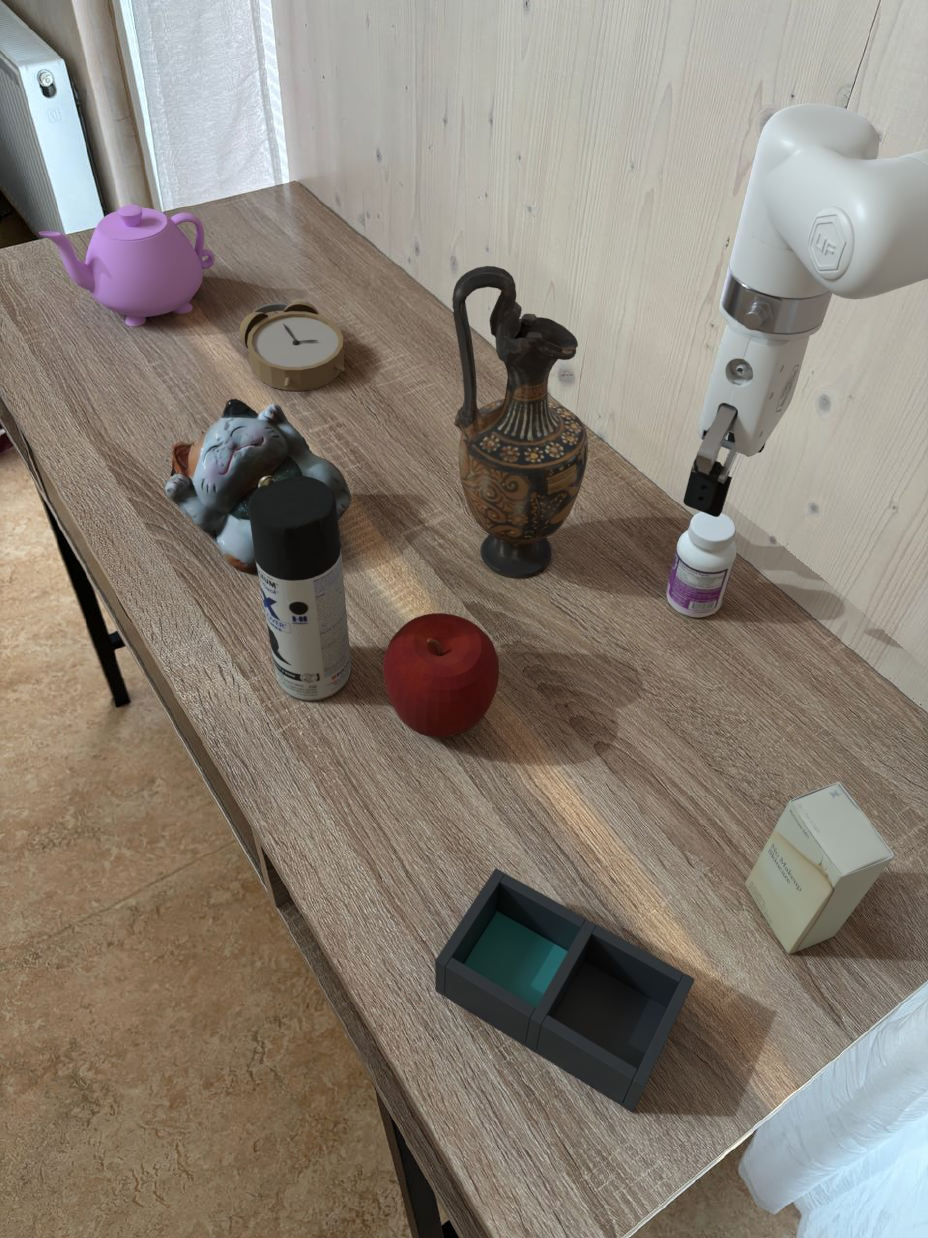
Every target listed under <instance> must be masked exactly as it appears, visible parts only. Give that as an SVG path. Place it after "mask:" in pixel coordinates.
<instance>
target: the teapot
mask: <svg viewBox="0 0 928 1238" xmlns="http://www.w3.org/2000/svg"><path fill="white" fill-rule="evenodd" d="M183 223H193V224H194V227H195V244H194V246H193V243H191V241H190V240H189V238H188V237H187V236H186V235H185V233H184V232H183V231H182V230H181V228H180V227H178V225H180V224H183ZM38 234H39V235H40V236H42V237H44V238H46V239H49V240H50V241H51V242H53V243H54V244H55V246H56V247H57V249H58V250H59V253H60V256H61V260H62V262H63V265H64V268H65V270H66V272H67V274H68V276H69V278H71V280H72V282H74V284H75V285H77V286H78V287H80V288H81V289H83V290H86V291H89V293H90V294H91V296H92V297H93V298H94V300H96V301H97V302H98V303H99V304H101V305H102V306H103V307H105V308H107V309H108V310H111V311H112V312H114V313H116V314H119V315H122V316H125V324H126V325H127V326H129V327H139V326H141V325H144V324H145V323H146V322H147V317H154V316H156V317H157V316H161V315H164V314H165V315H166V314H167V313H170V312H173V313H175V314H178V315H183V314H188V313H190V312H191V311H193V305H192V304H191V303H190V301H191V300H192V298H193V297H195V295H196V293H197V292H198V290H199V288H200V287H201V286H202V284H203V283H202V282H203V279H204V278H203V277H204V271H203V270H208V269H211V267H213V265H214V264H215V260H216V259H215V255H214V253H213V252H212V251H211V250H210V249H208V248H207V249H206V248H205V249H204V244H205V228H204V224H203V223H202V221H201V219H200V218H199V217H197V215H194V214H192V213H189V212H179V213H176V214H174V215H172V216H171V217H168V215H166V214H165V213H163V212H162V211H159V210H157V209H153V208H150V207H141V206H140V205H137V204H126V205H123V206H120V207H119V208H118V210H116V211H113V212H110V213H108V214H107V215H105V216H104V217H102V218H101V219H100V220H99V222H98V223H97V225H96V227H95V229H94V231H93V233H92V236H91V238H90V241H89V244H88V248H87V251H86V257H85V262H83V261H80V260H79V259H78V257H77V256H76V253H75V250H74V248H73V245H72V243H71V242H70V240H69V239H68V237H67V236H66V235H64V234H63V233H61V232H58V231H53V230H51V231H50V230H43V231H39V232H38ZM206 256H207V258H206V259H204V260H203V257H206Z"/></svg>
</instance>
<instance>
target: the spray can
mask: <svg viewBox="0 0 928 1238" xmlns="http://www.w3.org/2000/svg"><path fill="white" fill-rule="evenodd" d="M248 511H249V518H250V525H251V532H252V539H253V546H254V553H255V559H256V565H257V570H258V574H257V575H258V582H259V586H260V591H261V597H262V604H263V609H264V615H265V621H266V627H267V633H268V639H269V644H270V649H271V656H272V662H273V668H274V672H275V676H276V679H277V682H278V684H279V686H280V687H281V689H282V691H283V692H285V693H286V694H287V695H289V696H290V697H292V698H293V699H298V700H300V701H304V702H317V701H322V700H327V699H328V698H331V697H333V696H335V695H336V694H338V693H339V692H340V691H341V690H343V688H344V687H345V686H346V684H347V683H348V680H349V679H350V674H351V670H352V662H351V661H352V660H351V649H350V638H349V626H348V614H347V602H346V591H345V581H344V567H343V556H342V543H341V533H340V527H339V520H338V515H337V506H336V499H335V495H334V493H333V491H332V490H331V489H330V488H329V487H328V486H327V485H326V484H325V483H324V482H322V481H320V480H317V479H315V478H312V477H307V476H304V475H302V476H299V477H297V478H286V479H281V480H278V481H275V482H272V483H270V484H269V485H262V486H260V487H259V488H258V489H257V490H256V491H254V493H253V495H252V497H251V498H250V501H249V504H248Z"/></svg>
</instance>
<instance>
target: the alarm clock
mask: <svg viewBox="0 0 928 1238" xmlns="http://www.w3.org/2000/svg"><path fill="white" fill-rule="evenodd" d="M271 312H272V313H273V312H277V313H275V314H272V315H268V314H267V313H271ZM238 334H239V340H240V342H241V344H242V345H243V347H244V348H245V349H247V350H248V357H249V358H248V359H249V366H250V369H251V371H252V374H253V375H254V377H256V378H257V379H258V380H259V381H260V382H261V383H263V384H265V385H267V386H269V387H271V388H273V389H279V390H282V391H286V392H287V391H288V392H303V391H310V390H315V389H319V388H321V387H323V386H325V385H328V384H330V383H331V382H332V381H334V380H335V379H336V378H337V377H339V375H340V374H341V372H345V371H346V368H345V367H344V365H345V354H344V335H343V333H342V330H341V328H340V327H339V326H338V325H337V324H336V323H335V322H334V321H333V320H331V319H329V318H327V317H325V316H323V315H321V314H320V313H319V311H318V309H317V308H316V307H315V306H314V305H313V304H311V303H309V302H308V301H303V300H297V301H294V302H290V303H289V304H288V303H284V302H283V303H282V302H276V303H268V304H267V303H266V304H264V305H262V306H259V307H257V308H255V309H253V311H252V312H251V313H249V314H247V316H245V317H244V318H243V320H242V321H241V323H240V326H239V333H238Z"/></svg>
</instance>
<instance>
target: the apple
mask: <svg viewBox="0 0 928 1238" xmlns="http://www.w3.org/2000/svg"><path fill="white" fill-rule="evenodd" d="M493 642H494V641H492V639H491V638H490V636H489V635H488V634H487V633H486V632H485V631H484V630H483V629H481V628H480V627H479V625H477V624H476V623H474V622H472V620H471V621H470V620H469V619H466V618H464V617H463V616H459V615H455V614H452V613H443V612H436V613H435V612H434V613H426V614H422V615H419V616H416V617H414V618H413V619H410V620H409V621H407V622H405V624H403V625H402V626H401V627H400V628H399V629H398V630H397V632H396V633H395V634H394V635H393V636H392V638H391V639H390V641H389V643H388V644H387V647H386V651H385V653H384V657H383V662H382V664H383V665H382V678H383V684H384V688H385V691H386V694H387V698H388V699H389V701H390V704H391V705H392V707H393V710H394V711H395V713H396V715H397V716H398V718H400V720H401V721H402V722H403V723H404V724H405V726H407V727H408V728H409V729H410V730H412V731H413V732H416V733H418V734H420V735H422V736H425V737H429V738H450V737H454V736H457V735H458V734H462V733H464V732H466V731H468V730H470V729H471V728H473V727H474V726H475V725H476V724H477V723H479V722H480V721H481V720H482V718H483V717H485V715H486V713H487V712H488V711H489V709H490V707H491V705H492V703H493V701H494V698H495V695H496V693H497V689H498V685H499V678H500V661H499V656H498V653H497V651H496V648H495V645H494V643H493Z"/></svg>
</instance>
